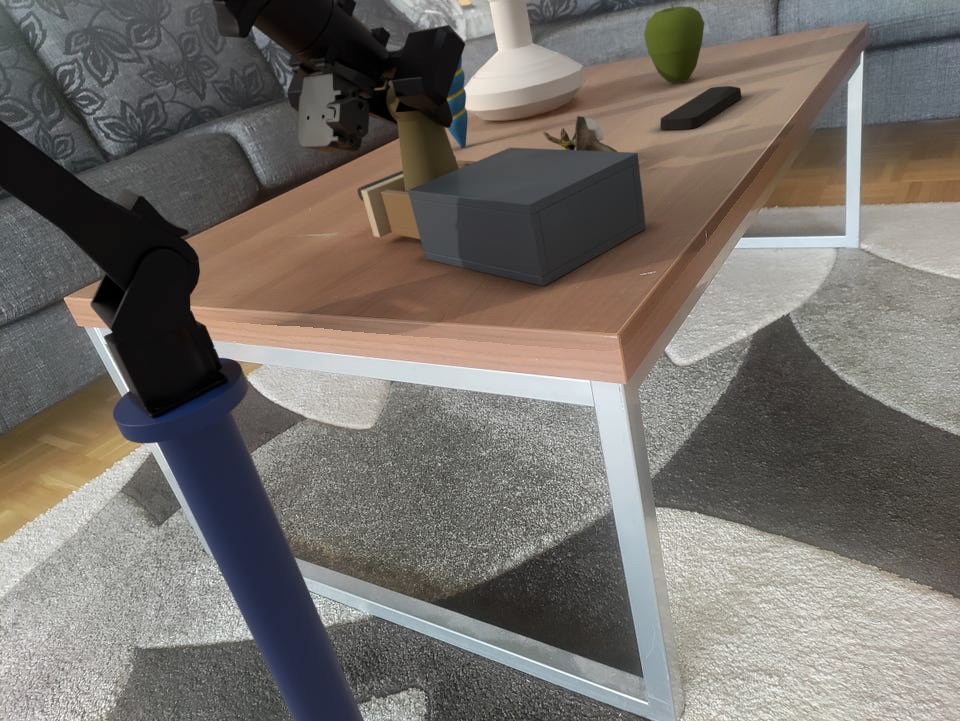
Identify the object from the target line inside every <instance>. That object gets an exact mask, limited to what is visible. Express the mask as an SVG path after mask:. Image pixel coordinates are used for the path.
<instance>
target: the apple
mask: <svg viewBox="0 0 960 721" xmlns="http://www.w3.org/2000/svg"><path fill="white" fill-rule="evenodd" d="M702 16H703V15H702V14H701V12H700V11H699V10H697V9H696V8H694V7H693V6H681V5H680V6H673V3H672V2H671V7H667V8H663V9H661V10H658V11H655V12H654V14H653V15H651V17H650V18H649V19H648V20H647V21H646V24H645V29H644V33H643V37H644V40H645V41H644V42H645V45H646V48H647V52H648V53H647V54H648V55H649V57H650V59H651V61H652V64H653V65H654V67H655V69H656V71H657V74H659V75H660V76H661V77H662V78H663V79H664V80H665V81H666V82H667V83H668V84H673V83H674V84H676V83H681V82H687V81H689V80H690V78H691V77H692V75H693V73H694V71H695V69H696V68H697V65H698V60H699V57H700V52H701V48H702V45H703V37H704V30H705V21H704V19H703V17H702Z"/></svg>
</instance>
